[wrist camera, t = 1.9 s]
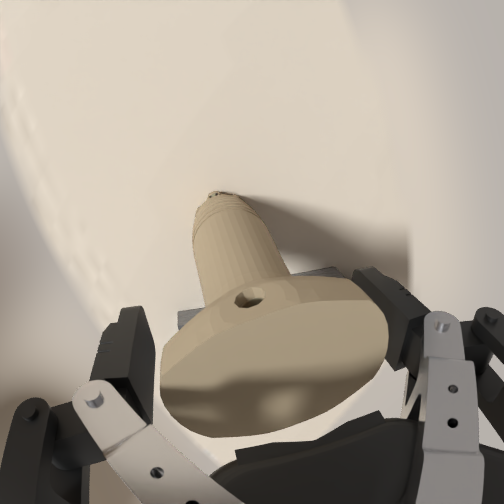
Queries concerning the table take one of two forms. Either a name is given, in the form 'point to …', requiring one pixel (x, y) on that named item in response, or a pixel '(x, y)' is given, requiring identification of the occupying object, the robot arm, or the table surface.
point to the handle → (264, 334)
